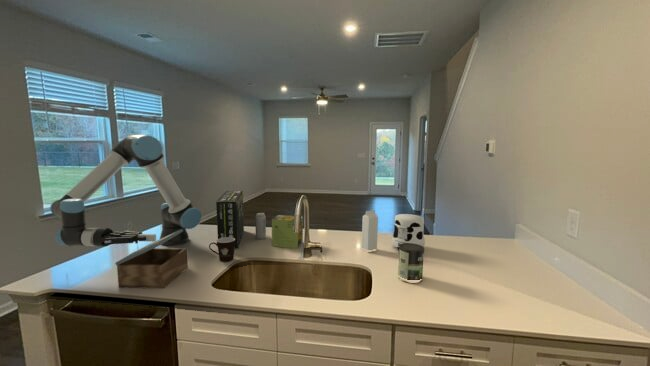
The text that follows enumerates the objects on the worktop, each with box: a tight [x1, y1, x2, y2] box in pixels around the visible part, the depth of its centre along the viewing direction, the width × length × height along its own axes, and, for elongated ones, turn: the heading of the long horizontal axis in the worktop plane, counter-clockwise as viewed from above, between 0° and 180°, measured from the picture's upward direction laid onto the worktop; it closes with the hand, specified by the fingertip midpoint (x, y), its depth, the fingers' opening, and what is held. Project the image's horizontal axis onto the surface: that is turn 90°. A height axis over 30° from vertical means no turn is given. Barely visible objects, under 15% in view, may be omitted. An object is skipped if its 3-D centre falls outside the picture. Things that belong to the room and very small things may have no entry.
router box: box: [215, 190, 245, 250], centre depth 177 cm, size 36×11×27 cm, turn 10°
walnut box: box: [116, 247, 189, 289], centre depth 127 cm, size 18×20×9 cm
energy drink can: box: [254, 212, 267, 240], centre depth 181 cm, size 6×6×15 cm
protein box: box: [271, 214, 304, 249], centre depth 170 cm, size 10×15×16 cm
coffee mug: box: [208, 237, 235, 263], centre depth 147 cm, size 12×9×10 cm
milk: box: [361, 210, 379, 250], centre depth 161 cm, size 6×6×22 cm
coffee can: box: [397, 243, 425, 280], centre depth 128 cm, size 10×10×14 cm
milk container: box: [391, 213, 426, 250], centre depth 165 cm, size 17×17×18 cm
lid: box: [114, 229, 183, 266], centre depth 125 cm, size 18×20×1 cm
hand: (155, 237), depth 125 cm, fingers closed
